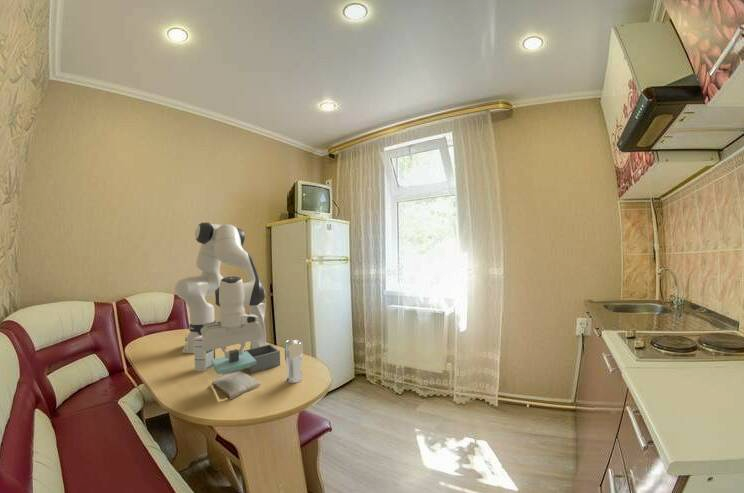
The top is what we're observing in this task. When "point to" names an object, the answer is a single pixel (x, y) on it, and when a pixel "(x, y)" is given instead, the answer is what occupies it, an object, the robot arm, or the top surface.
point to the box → (264, 357)
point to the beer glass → (294, 360)
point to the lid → (233, 362)
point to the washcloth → (235, 384)
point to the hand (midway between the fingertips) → (233, 356)
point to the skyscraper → (260, 313)
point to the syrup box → (202, 355)
